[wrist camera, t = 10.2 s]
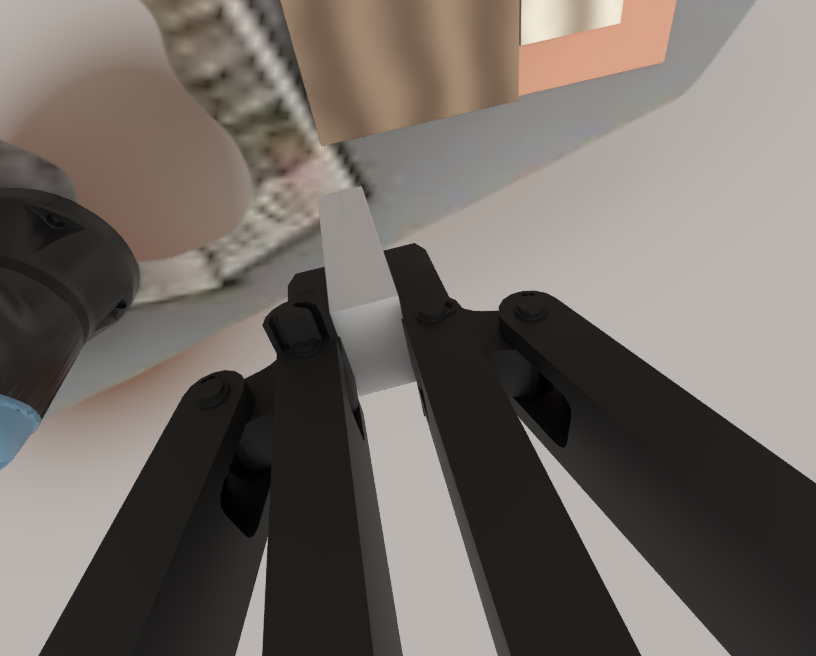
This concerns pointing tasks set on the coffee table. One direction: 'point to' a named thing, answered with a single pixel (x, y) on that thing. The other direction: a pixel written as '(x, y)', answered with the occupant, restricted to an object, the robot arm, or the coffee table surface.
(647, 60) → the terracotta mat
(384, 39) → the block
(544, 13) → the birch tile
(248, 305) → the coffee table surface
